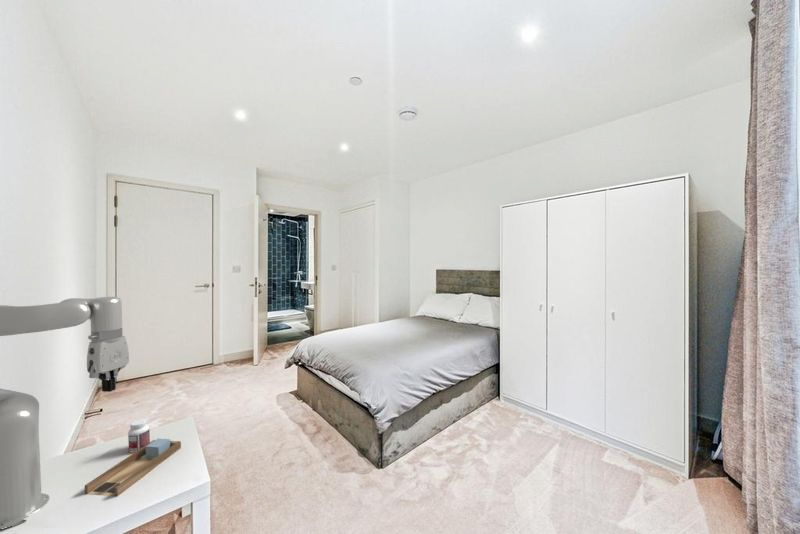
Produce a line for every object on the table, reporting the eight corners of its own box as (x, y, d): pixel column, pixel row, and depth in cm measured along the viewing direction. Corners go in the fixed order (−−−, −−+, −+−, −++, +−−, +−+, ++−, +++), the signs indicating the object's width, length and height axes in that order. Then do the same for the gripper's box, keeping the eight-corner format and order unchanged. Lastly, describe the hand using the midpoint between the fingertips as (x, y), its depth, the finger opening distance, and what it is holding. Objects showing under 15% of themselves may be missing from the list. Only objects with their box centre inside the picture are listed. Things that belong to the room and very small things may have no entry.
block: (145, 457, 112) (145, 446, 112) (158, 448, 117) (157, 438, 117) (158, 458, 112) (158, 447, 112) (170, 449, 117) (170, 439, 117)
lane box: (84, 496, 95) (84, 485, 95) (154, 448, 119) (153, 439, 119) (117, 499, 94) (117, 488, 94) (181, 450, 118) (180, 441, 118)
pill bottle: (150, 443, 122) (149, 416, 122) (150, 451, 118) (149, 422, 117) (129, 450, 119) (128, 421, 118) (128, 458, 114) (127, 428, 113)
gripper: (93, 341, 95) (95, 401, 95) (138, 330, 109) (140, 381, 110) (70, 340, 95) (72, 400, 96) (119, 329, 110) (120, 381, 111)
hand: (108, 390), depth 103 cm, fingers closed
